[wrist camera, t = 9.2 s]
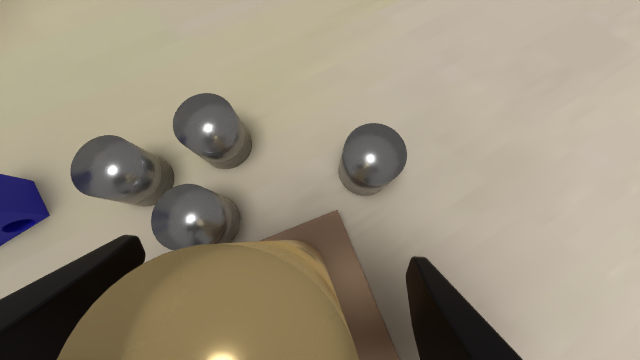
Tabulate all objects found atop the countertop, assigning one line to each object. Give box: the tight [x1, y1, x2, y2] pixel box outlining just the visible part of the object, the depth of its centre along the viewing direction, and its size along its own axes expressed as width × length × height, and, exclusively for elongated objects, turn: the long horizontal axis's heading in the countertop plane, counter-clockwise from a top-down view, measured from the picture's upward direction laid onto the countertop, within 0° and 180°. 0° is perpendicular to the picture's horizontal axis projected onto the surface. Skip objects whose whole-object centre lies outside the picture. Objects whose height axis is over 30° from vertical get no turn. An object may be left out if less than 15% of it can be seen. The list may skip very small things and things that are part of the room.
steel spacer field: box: [71, 93, 407, 251], centre depth 17 cm, size 9×18×4 cm, turn 112°
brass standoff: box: [57, 240, 359, 360], centre depth 10 cm, size 4×4×13 cm
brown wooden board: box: [259, 210, 399, 360], centre depth 16 cm, size 14×11×2 cm
